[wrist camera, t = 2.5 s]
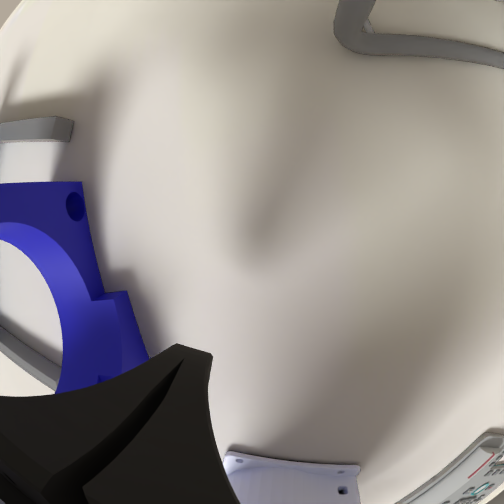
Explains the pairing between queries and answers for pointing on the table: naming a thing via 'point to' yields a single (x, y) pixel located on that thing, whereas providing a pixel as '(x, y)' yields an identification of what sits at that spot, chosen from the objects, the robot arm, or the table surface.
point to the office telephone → (465, 475)
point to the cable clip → (72, 281)
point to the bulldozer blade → (3, 340)
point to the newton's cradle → (402, 39)
